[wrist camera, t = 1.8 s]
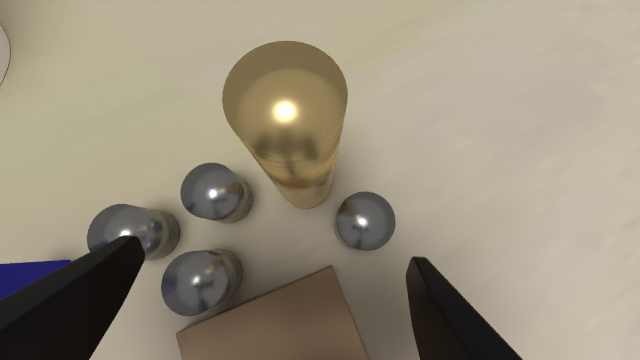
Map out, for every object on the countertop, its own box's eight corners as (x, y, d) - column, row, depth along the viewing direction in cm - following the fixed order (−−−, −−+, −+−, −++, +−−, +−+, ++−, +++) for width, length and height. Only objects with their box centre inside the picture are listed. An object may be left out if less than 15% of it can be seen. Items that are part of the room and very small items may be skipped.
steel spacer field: (388, 238, 20) (405, 236, 16) (154, 337, 19) (110, 362, 15) (341, 134, 22) (346, 110, 18) (126, 215, 21) (80, 209, 17)
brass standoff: (338, 197, 21) (367, 126, 8) (291, 216, 21) (245, 172, 8) (319, 152, 22) (319, 25, 9) (273, 170, 21) (207, 63, 9)
